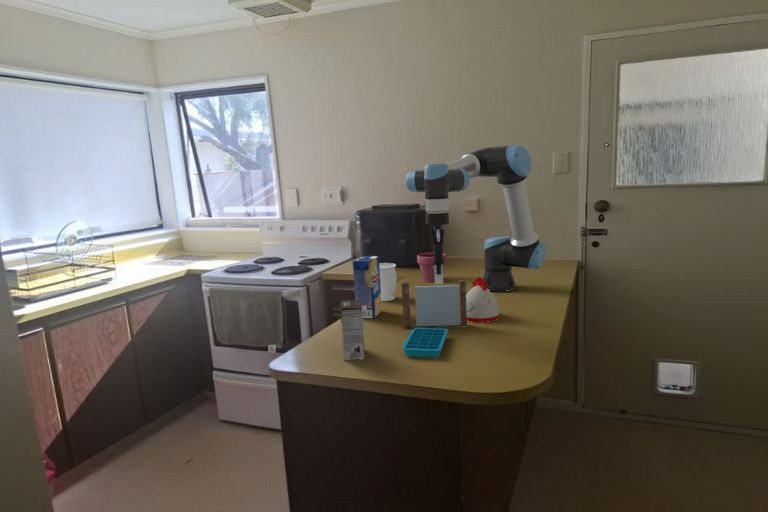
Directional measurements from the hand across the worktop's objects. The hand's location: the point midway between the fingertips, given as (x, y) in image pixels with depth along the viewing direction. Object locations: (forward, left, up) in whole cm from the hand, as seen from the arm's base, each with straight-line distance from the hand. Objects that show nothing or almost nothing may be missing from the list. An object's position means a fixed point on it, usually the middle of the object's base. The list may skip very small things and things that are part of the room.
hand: (438, 283), depth 168 cm
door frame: (+2, -7, -17) cm, 19 cm away
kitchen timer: (-15, -17, -17) cm, 29 cm away
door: (+1, -8, -17) cm, 18 cm away
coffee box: (+27, +19, -17) cm, 37 cm away
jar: (+22, -47, -17) cm, 54 cm away
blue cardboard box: (+26, -24, -17) cm, 40 cm away
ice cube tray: (+5, +13, -18) cm, 22 cm away
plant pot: (+1, -81, -17) cm, 83 cm away
